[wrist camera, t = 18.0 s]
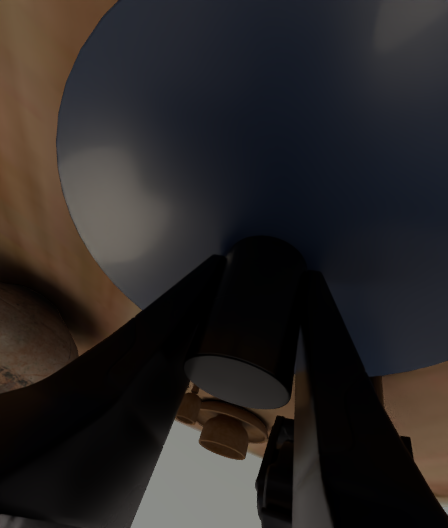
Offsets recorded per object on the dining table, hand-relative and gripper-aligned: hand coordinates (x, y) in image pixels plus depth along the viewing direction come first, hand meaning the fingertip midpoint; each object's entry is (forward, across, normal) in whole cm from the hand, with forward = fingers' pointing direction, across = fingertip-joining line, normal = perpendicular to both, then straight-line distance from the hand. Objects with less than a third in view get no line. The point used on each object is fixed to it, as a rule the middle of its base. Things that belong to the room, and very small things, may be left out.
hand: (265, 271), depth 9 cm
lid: (+1, 0, 0) cm, 1 cm away
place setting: (+8, +4, +37) cm, 38 cm away
